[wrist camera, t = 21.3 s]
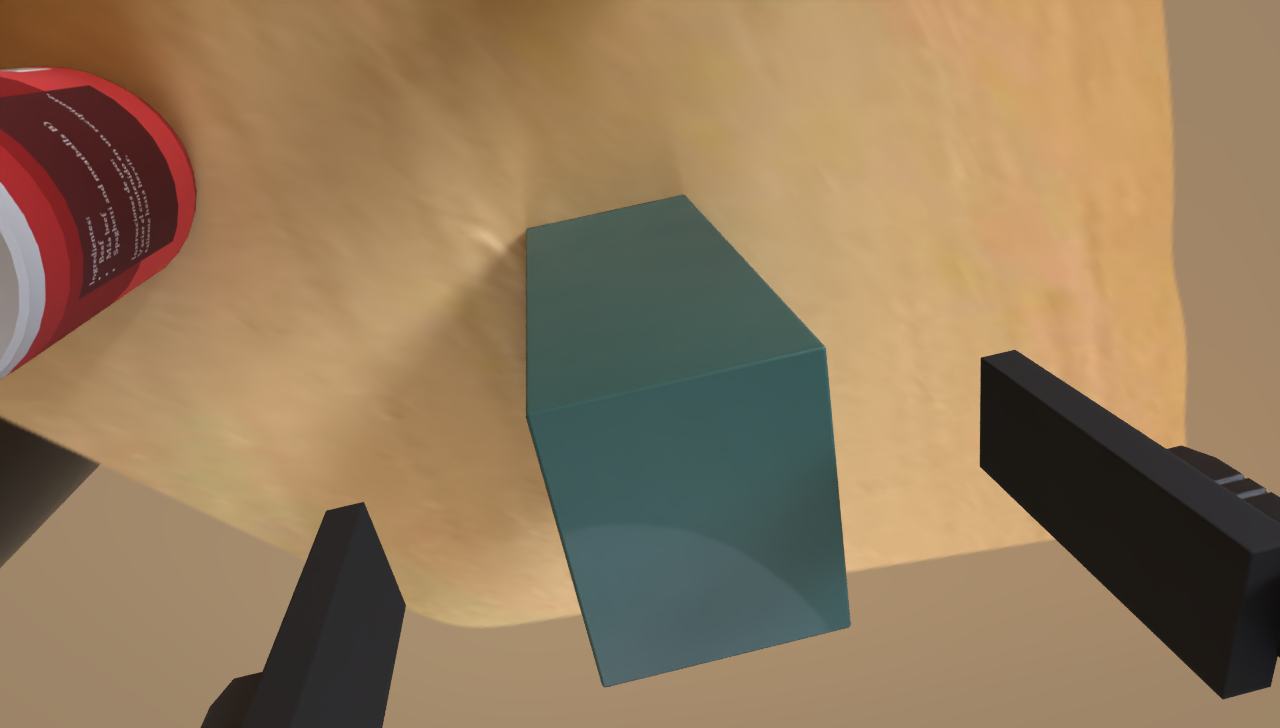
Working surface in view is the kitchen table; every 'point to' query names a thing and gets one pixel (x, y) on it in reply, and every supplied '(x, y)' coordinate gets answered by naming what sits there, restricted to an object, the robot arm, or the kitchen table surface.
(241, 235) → the kitchen table surface
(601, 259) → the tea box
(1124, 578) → the robot arm
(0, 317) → the canned food
